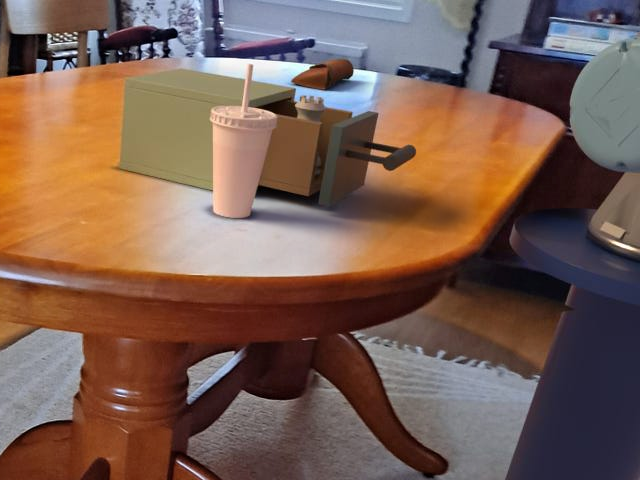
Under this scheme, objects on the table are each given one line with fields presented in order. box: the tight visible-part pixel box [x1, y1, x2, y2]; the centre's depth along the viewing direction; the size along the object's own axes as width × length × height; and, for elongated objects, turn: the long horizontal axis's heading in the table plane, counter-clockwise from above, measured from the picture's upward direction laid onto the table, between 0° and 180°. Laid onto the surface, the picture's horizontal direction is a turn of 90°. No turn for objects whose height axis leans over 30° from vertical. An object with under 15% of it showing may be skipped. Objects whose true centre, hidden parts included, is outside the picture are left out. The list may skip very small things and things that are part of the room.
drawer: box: [255, 99, 417, 207], centre depth 89 cm, size 19×12×8 cm, turn 60°
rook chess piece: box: [295, 94, 326, 178], centre depth 89 cm, size 4×4×8 cm
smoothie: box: [210, 63, 277, 219], centre depth 80 cm, size 6×6×14 cm
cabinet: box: [118, 68, 297, 191], centre depth 94 cm, size 15×13×10 cm
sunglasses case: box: [290, 58, 355, 91], centre depth 167 cm, size 18×7×7 cm
